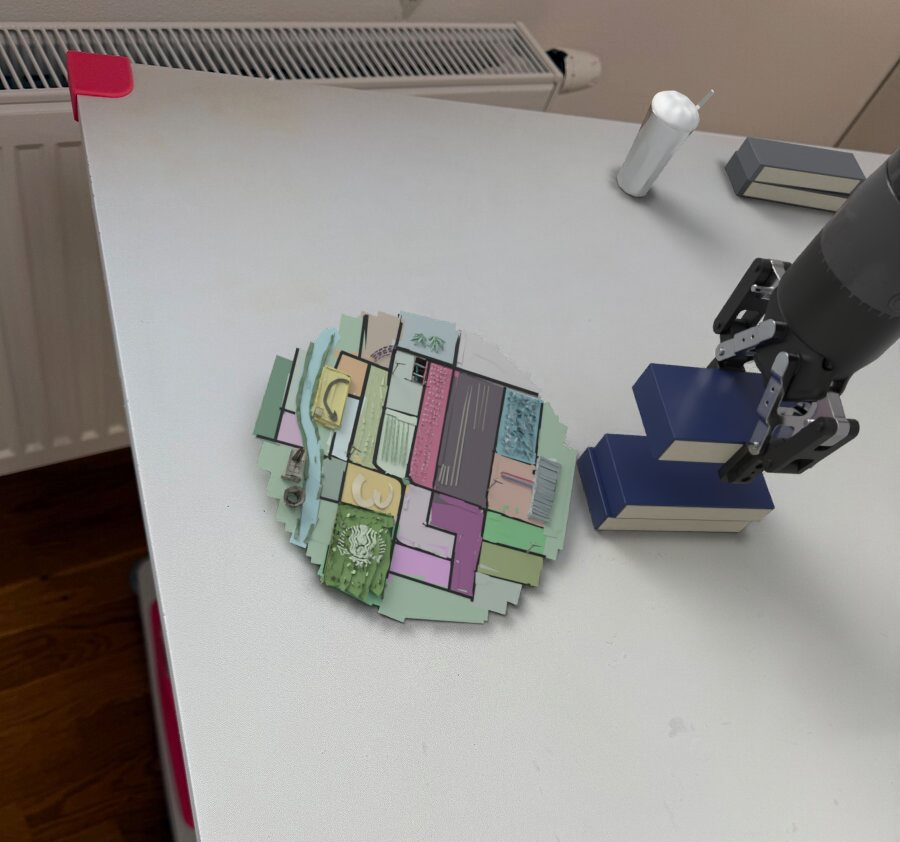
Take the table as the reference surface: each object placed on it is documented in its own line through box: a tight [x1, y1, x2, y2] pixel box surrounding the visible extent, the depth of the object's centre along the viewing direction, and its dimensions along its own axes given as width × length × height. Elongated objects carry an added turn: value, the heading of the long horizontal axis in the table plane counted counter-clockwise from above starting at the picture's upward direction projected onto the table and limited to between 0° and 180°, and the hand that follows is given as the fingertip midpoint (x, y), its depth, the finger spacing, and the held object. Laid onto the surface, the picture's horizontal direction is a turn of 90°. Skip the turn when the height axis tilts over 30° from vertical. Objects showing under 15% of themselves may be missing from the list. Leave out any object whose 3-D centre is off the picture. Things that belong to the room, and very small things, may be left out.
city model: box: [242, 310, 578, 624], centre depth 66 cm, size 25×24×6 cm
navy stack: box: [576, 433, 776, 533], centre depth 73 cm, size 13×6×4 cm, turn 101°
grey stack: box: [724, 136, 867, 213], centre depth 98 cm, size 14×4×4 cm, turn 101°
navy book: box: [631, 362, 818, 469], centre depth 66 cm, size 13×6×3 cm, turn 101°
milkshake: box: [616, 89, 715, 198], centre depth 88 cm, size 4×5×10 cm
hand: (715, 437), depth 68 cm, fingers closed on navy book, 6 cm apart
